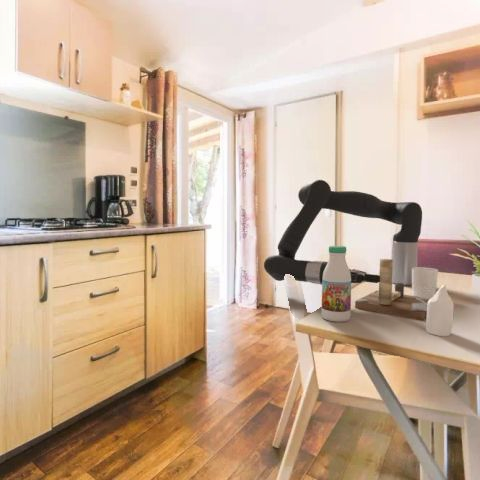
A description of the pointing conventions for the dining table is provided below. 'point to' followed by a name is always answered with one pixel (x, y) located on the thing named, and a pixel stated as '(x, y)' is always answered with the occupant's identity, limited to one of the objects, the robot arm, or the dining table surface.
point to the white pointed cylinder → (440, 313)
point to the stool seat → (393, 305)
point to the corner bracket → (419, 306)
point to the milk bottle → (336, 286)
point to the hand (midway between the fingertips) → (379, 279)
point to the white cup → (424, 282)
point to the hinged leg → (388, 283)
